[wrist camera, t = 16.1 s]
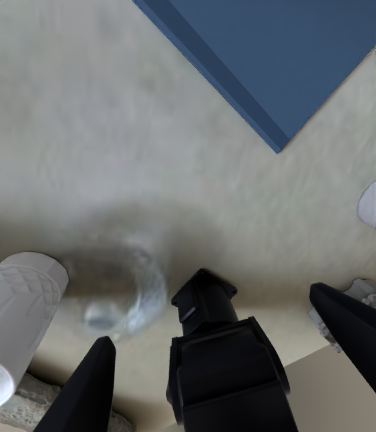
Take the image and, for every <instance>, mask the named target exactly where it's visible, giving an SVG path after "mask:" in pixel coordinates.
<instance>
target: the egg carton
mask: <svg viewBox="0 0 376 432" xmlns="http://www.w3.org/2000/svg"><path fill="white" fill-rule="evenodd" d="M338 291H339V290H338ZM340 292H341V291H340ZM343 293H345V294H347V295H349V296H351V297H353V298H355V299H357V300H359V301H361V302H363V303H365V304H367V305H369V306H371V307H373V308H376V283H374V282H373V281H371V280H370V279H368V280H361V279H360V278H358V279H356V280H354V281H353V284H352V286H351V288H350V289H348V290H346V291H344V292H343ZM309 316H310V317H311V319H312V320H313V321H314V322H315V325H316V326H317V327H318V328H319V330H320V334H321V335H322V336H323V337H324V338H325V339H326V340H328V341H329V342H330V344H331V345H332V347H333V348H334V349H335V350H336V351H337V352H338V353H340V352H341V351H342V348H341V347H340V346H339V344H338V343H337V342H336V340H335V339H334V338H333V336H332V335H331V333H330V332H329V330H328V328H327V327H326V325H325V324H324V322H323V321H322V319H321V317H320V316H319V314H318V313H317V311H316V310H315V308H314V306H312V309H311V310H310V312H309Z"/></svg>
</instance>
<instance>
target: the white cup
mask: <svg viewBox="0 0 376 432" xmlns="http://www.w3.org/2000/svg"><path fill="white" fill-rule="evenodd" d="M68 282H69V279H68V275H67V272H66V269H65V268H64V267H63V266H62V265H61V264H60V263H59V262H58V261H57V260H55V259H53V258H51V257H49V256H46V255H44V254H42V253H34V252H22V253H18V254H14V255H10V256H9V257H7V258H6V259H5V260H3V261H2V262H1V263H0V406H2V405H4V404H5V403H6V402H8V401H9V400H10V399H11V398H12V397H13V395H14V393H15V391H16V390H17V388H18V386H19V384H20V382H21V380H22V378H23V376H24V374H25V372H26V370H27V368H28V366H29V364H30V362H31V360H32V358H33V356H34V354H35V352H36V350H37V348H38V346H39V345H40V343H41V341H42V339H43V337H44V335H45V333H46V331H47V329H48V327H49V325H50V323H51V321H52V319H53V316H54V314H55V312H56V310H57V308H58V306H59V302H60V300H61V298H62V296H63V295H64V293H65V291H66V288H67V285H68Z"/></svg>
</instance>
